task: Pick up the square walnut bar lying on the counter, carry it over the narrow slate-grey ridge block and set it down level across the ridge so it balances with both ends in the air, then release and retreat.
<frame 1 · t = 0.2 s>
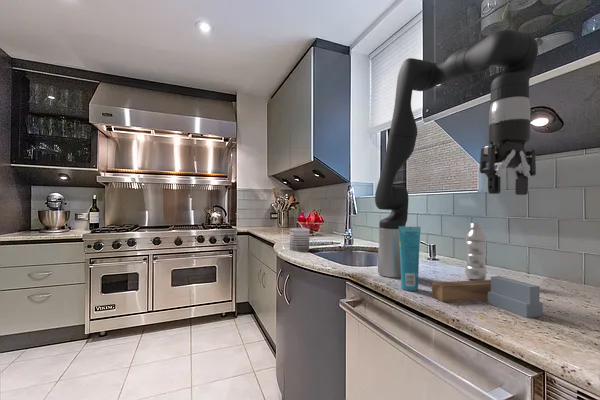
hand: (508, 194, 64), 28 cm above the worktop, tool pointing down, fingers open, 8 cm apart
can: (299, 250, 163), on the worktop
ridge: (513, 309, 72), on the worktop
tube: (408, 289, 88), on the worktop
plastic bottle: (475, 280, 101), on the worktop
walnut bar: (467, 298, 80), on the worktop
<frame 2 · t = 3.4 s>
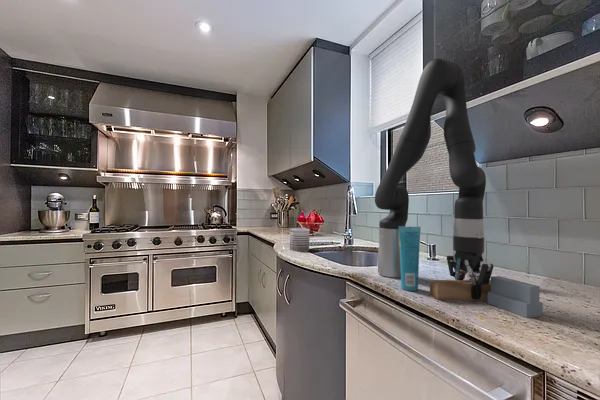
hand: (468, 295, 80), 1 cm above the worktop, tool pointing down, fingers closed on walnut bar, 4 cm apart
walnut bar: (468, 298, 80), on the worktop, touching gripper
everything else where it was.
when the fingers open (9 cm above the worktop, at t = 7.5 s): walnut bar stays where it is, resting on ridge.
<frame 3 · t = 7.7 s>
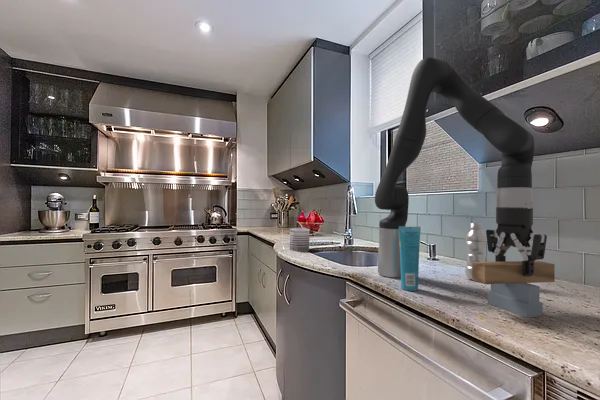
hand: (513, 272, 72), 9 cm above the worktop, tool pointing down, fingers open, 6 cm apart
walnut bar: (513, 280, 72), point 7 cm above the worktop, touching ridge
everything else where it was.
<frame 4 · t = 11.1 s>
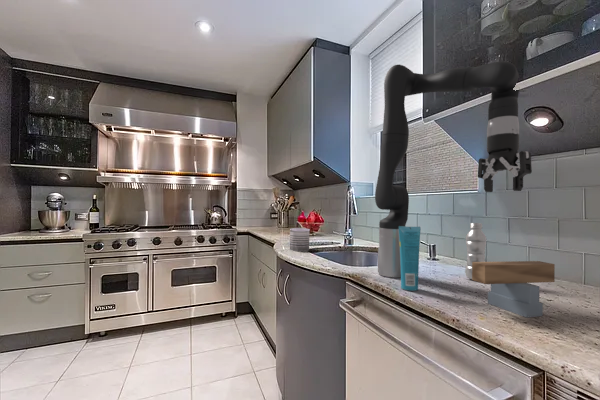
hand: (502, 191, 82), 30 cm above the worktop, tool pointing down, fingers open, 8 cm apart
nothing on the worktop moved.
at the end: walnut bar 0.1 cm off-centre on the ridge, point 7.0 cm above the ridge's base; walnut bar tilted 0°; walnut bar touching ridge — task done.
